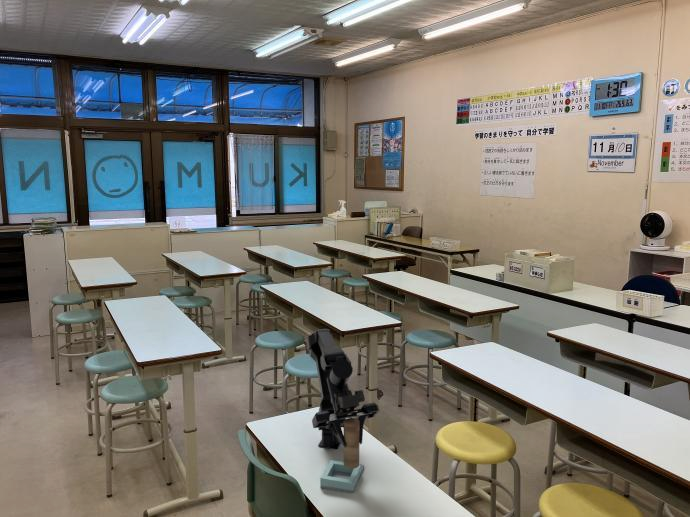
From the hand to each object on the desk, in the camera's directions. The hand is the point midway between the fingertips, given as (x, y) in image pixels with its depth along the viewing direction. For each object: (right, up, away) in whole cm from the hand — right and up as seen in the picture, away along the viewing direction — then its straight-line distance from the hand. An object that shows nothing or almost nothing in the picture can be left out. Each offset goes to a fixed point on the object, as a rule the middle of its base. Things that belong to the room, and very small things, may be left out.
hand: (353, 445), depth 149 cm
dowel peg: (0, -6, +3) cm, 7 cm away
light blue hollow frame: (-3, -11, +6) cm, 13 cm away
